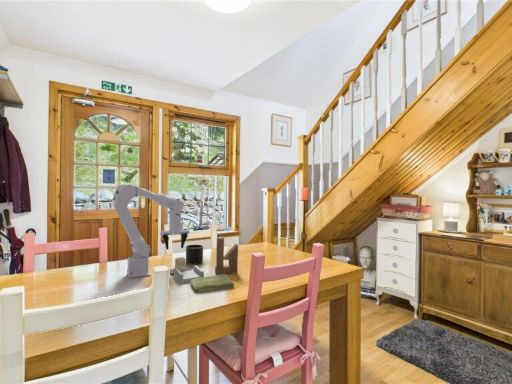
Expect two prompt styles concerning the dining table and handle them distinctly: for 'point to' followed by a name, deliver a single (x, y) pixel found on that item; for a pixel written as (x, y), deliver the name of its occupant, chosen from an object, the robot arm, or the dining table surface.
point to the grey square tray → (188, 274)
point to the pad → (181, 271)
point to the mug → (194, 254)
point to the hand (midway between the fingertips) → (174, 248)
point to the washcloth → (211, 283)
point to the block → (180, 263)
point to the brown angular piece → (226, 258)
